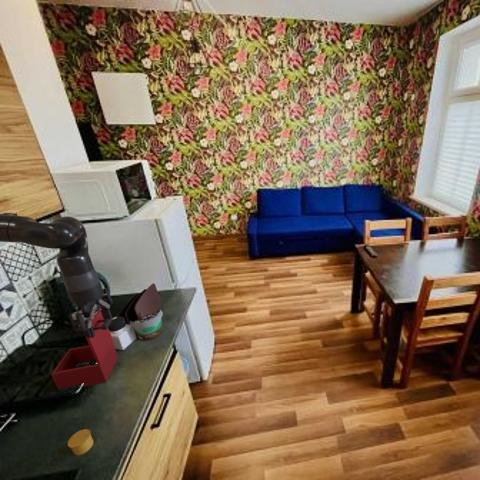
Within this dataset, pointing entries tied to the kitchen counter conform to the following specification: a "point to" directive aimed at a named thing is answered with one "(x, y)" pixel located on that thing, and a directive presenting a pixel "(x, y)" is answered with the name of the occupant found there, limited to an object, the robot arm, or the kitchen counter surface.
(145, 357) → the kitchen counter surface
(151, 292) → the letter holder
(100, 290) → the robot arm
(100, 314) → the box lid
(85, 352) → the maroon rectangular box
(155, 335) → the food container
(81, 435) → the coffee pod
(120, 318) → the medicine bottle
